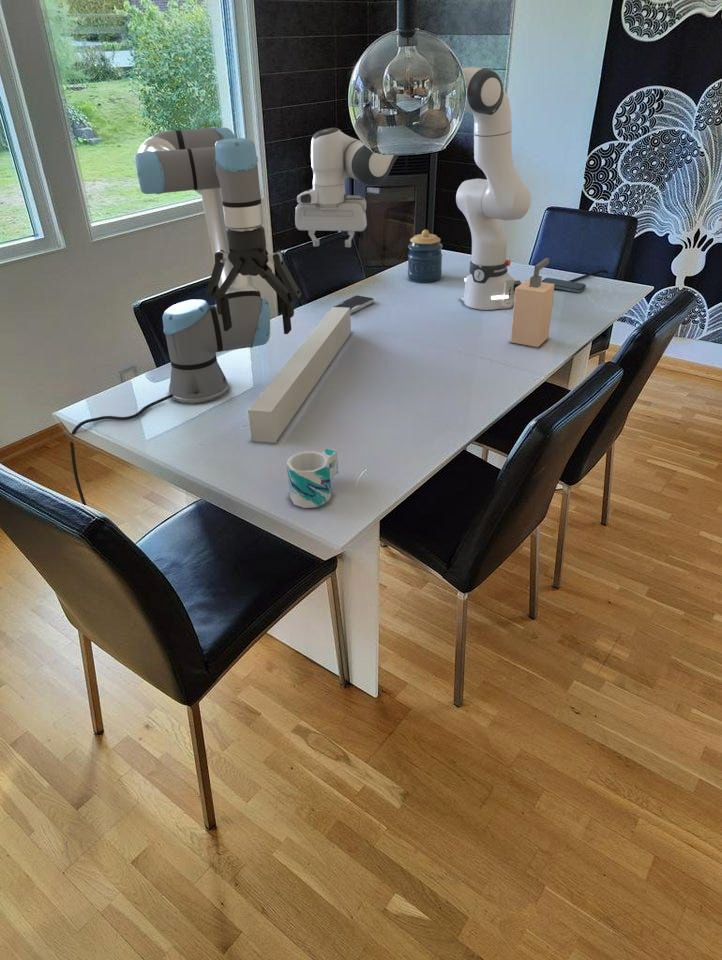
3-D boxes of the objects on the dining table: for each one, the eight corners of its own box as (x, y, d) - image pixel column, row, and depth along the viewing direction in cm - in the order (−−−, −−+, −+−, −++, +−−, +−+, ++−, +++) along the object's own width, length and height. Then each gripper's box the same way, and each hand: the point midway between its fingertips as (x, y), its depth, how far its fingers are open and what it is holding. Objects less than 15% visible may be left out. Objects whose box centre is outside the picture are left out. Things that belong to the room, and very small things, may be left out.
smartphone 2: (580, 289, 234) (539, 282, 241) (579, 294, 235) (538, 286, 242) (587, 283, 240) (546, 276, 246) (586, 288, 240) (545, 281, 247)
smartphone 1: (374, 298, 234) (349, 310, 224) (374, 302, 235) (349, 314, 224) (356, 295, 238) (331, 307, 227) (356, 298, 238) (331, 310, 228)
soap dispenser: (538, 347, 195) (546, 271, 183) (510, 342, 199) (517, 267, 187) (552, 333, 204) (562, 259, 192) (525, 328, 208) (533, 256, 196)
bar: (275, 443, 153) (271, 411, 149) (252, 441, 154) (247, 409, 150) (351, 332, 211) (350, 307, 206) (334, 331, 212) (332, 306, 208)
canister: (414, 284, 250) (415, 235, 241) (403, 275, 261) (403, 227, 251) (446, 280, 253) (448, 231, 243) (434, 271, 264) (435, 224, 254)
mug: (282, 500, 133) (278, 464, 129) (317, 472, 142) (314, 437, 137) (316, 512, 129) (313, 475, 125) (350, 482, 138) (348, 447, 133)
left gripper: (311, 223, 132) (318, 326, 144) (194, 221, 138) (210, 321, 149) (299, 232, 126) (308, 339, 138) (178, 230, 132) (196, 333, 143)
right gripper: (368, 193, 185) (369, 244, 193) (298, 192, 190) (302, 243, 197) (363, 197, 180) (365, 250, 188) (291, 196, 184) (295, 248, 192)
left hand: (257, 330), depth 144 cm, fingers open, 13 cm apart
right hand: (332, 246), depth 192 cm, fingers open, 8 cm apart
